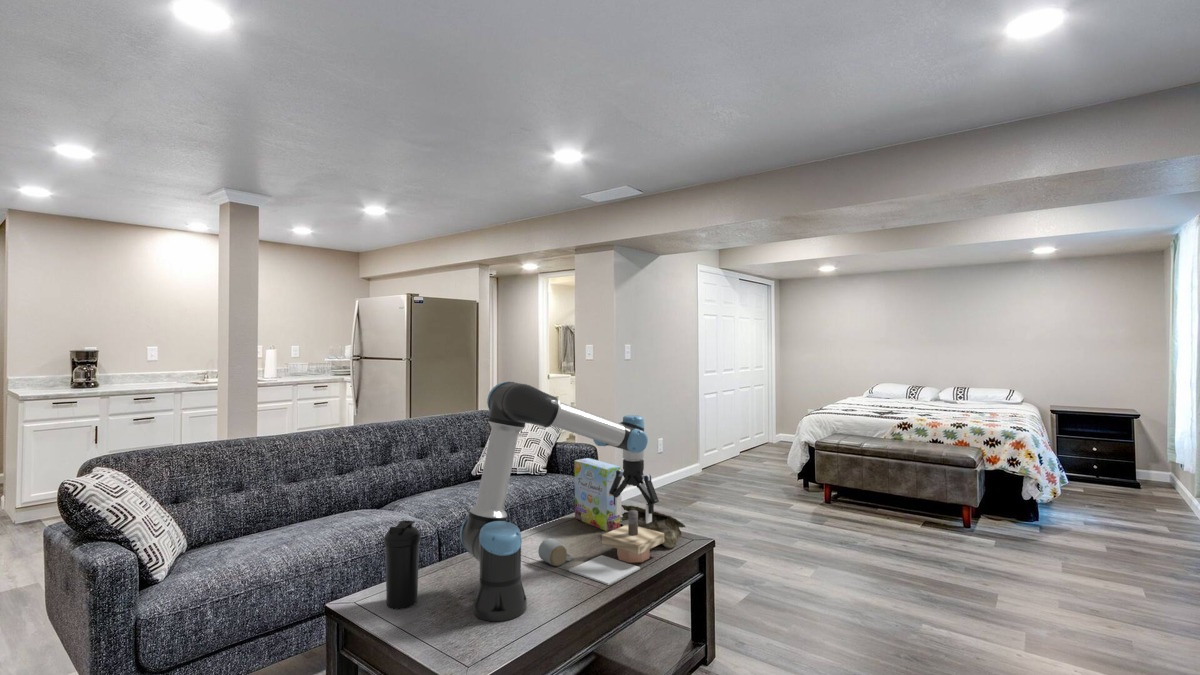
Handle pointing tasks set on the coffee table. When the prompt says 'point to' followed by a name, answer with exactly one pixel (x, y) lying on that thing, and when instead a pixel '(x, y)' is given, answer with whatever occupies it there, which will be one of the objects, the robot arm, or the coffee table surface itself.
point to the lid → (633, 536)
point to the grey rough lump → (657, 524)
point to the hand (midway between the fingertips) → (633, 518)
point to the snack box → (595, 493)
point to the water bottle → (402, 565)
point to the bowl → (632, 556)
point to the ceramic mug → (553, 552)
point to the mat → (604, 569)
